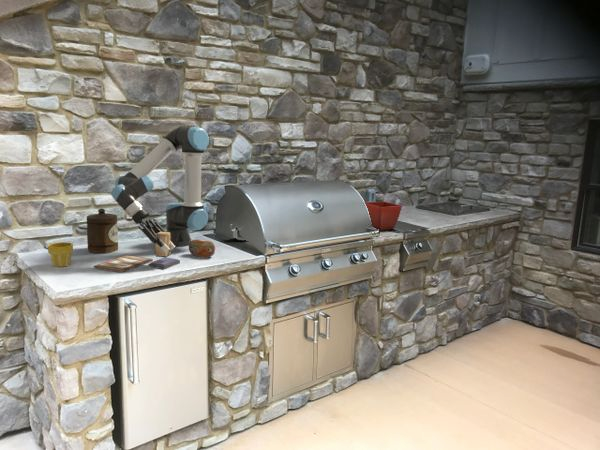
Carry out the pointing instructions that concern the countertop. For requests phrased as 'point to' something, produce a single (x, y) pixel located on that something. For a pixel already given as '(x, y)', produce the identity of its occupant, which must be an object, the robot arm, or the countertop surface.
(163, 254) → the wooden block
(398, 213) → the plant pot
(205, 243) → the brown oval lump
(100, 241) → the wooden container
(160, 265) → the pad
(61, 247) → the plant pot
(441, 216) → the countertop surface
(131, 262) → the print board
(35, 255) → the countertop surface
